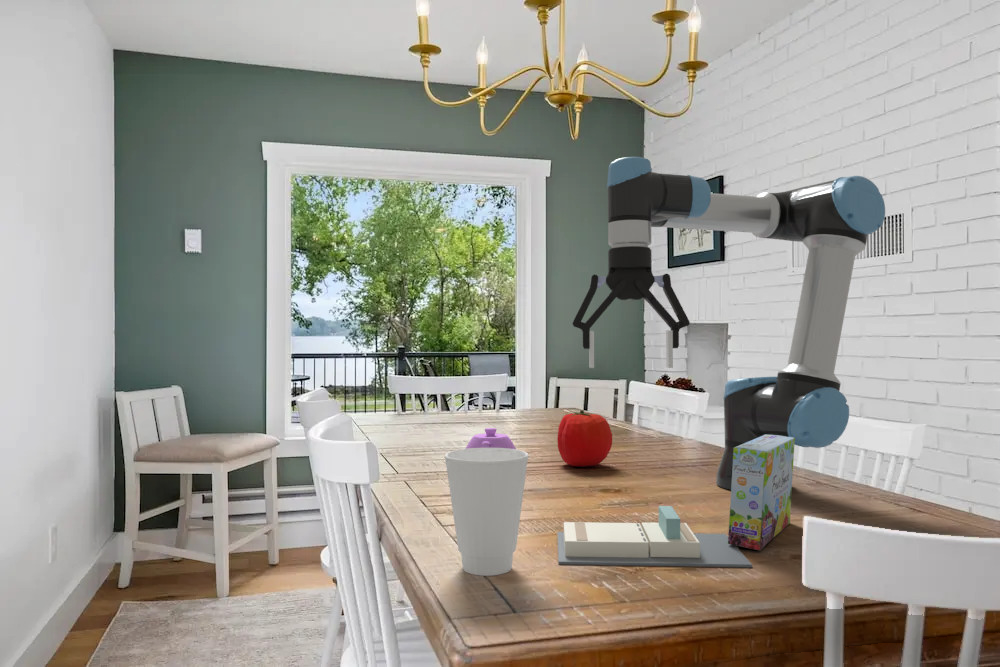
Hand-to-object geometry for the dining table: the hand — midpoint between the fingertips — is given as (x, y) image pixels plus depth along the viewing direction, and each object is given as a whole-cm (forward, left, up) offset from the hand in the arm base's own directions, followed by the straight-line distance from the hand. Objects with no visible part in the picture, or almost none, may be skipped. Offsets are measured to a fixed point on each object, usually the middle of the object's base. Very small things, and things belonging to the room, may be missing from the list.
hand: (630, 367), depth 133 cm
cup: (+23, +29, -27) cm, 46 cm away
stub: (-4, +19, -26) cm, 32 cm away
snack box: (-20, +10, -27) cm, 35 cm away
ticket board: (0, +19, -27) cm, 33 cm away
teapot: (+28, -42, -27) cm, 57 cm away
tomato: (+6, -51, -27) cm, 58 cm away
